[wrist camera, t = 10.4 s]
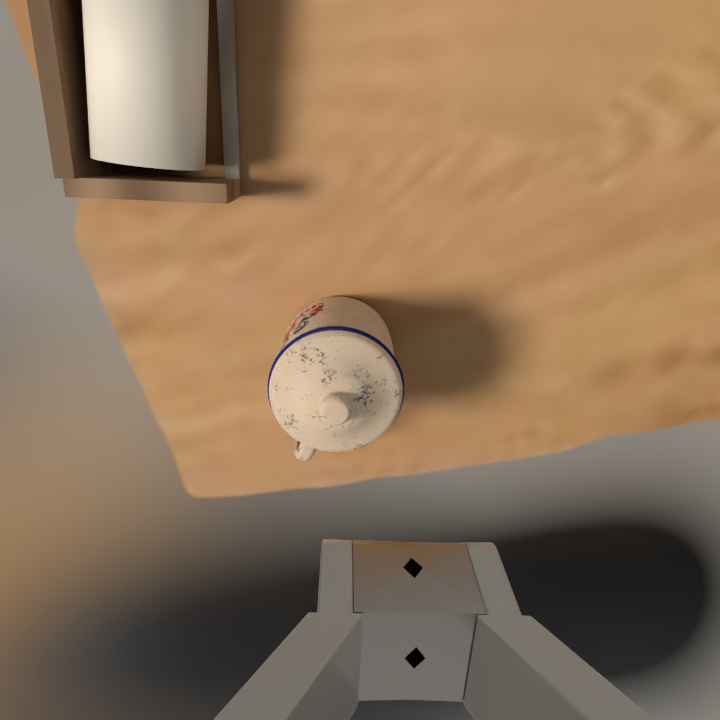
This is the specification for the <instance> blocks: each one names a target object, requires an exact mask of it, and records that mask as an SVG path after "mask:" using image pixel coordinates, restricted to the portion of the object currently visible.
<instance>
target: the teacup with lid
mask: <svg viewBox="0 0 720 720" xmlns="http://www.w3.org/2000/svg"><path fill="white" fill-rule="evenodd" d="M268 398H269V402H270V406H271V408H272V411H273V413H274V415H275V417H276V419H277V420H278V422H279V423H280V425H281V426H282V427H283V429H284V430H285V431H286V432H287V433H288V434H289V435H291V436H292V437H293V438H294V439H296V440H297V443H296V447H295V456H296V458H298V459H300V460H303V461H308V460H310V459H311V458H312V456H313V455H314V453H315V451H316V449H318V450H322V451H329V452H344V451H350V450H355V449H358V448H361V447H364V446H366V445H368V444H370V443H372V442H373V441H375V440H377V439H378V438H379V437H381V436H382V435H383V434H384V433H385V432H386V431H387V430H388V429H389V428H390V427H391V425H392V424H393V422H394V421H395V419H396V417H397V416H398V414H399V411H400V409H401V406H402V403H403V398H404V380H403V375H402V371H401V368H400V366H399V364H398V362H397V360H396V358H395V355H394V350H393V345H392V340H391V336H390V333H389V330H388V328H387V325H386V324H385V322H384V320H383V319H382V318H381V316H380V315H379V314H378V313H377V312H376V311H375V310H374V309H373V308H371V307H370V306H368V305H367V304H365V303H363V302H361V301H359V300H356V299H353V298H349V297H339V296H337V297H327V298H323V299H320V300H317V301H314V302H312V303H310V304H309V305H307V306H306V307H304V308H303V309H302V310H301V311H300V312H299V313H298V314H297V315H296V316H295V317H294V319H293V320H292V322H291V323H290V325H289V327H288V329H287V332H286V336H285V339H284V342H283V345H282V348H281V351H280V353H279V354H278V356H277V357H276V359H275V361H274V363H273V365H272V367H271V371H270V374H269V379H268Z"/></svg>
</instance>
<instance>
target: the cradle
mask: <svg viewBox="0 0 720 720" xmlns="http://www.w3.org/2000/svg"><path fill="white" fill-rule="evenodd" d="M216 1H217V22H218V44H219V66H220V88H221V110H222V132H223V153H224V175H225V178H213V177H190V176H167V175H145V174H122V173H113V166H112V163H110V162H104V161H99V160H95V159H92V158H90V148H89V129H88V110H87V91H86V72H85V53H84V34H83V15H82V0H27V4H28V10H29V17H30V23H31V29H32V36H33V42H34V49H35V55H36V62H37V68H38V74H39V81H40V87H41V94H42V100H43V107H44V113H45V120H46V125H47V132H48V139H49V145H50V152H51V158H52V165H53V171H54V177H55V178H63V183H64V190H65V196H66V197H82V198H106V199H129V200H153V201H176V202H200V203H223V204H227V203H229V202H231V201H233V200H235V199H237V198H238V197H240V196H241V181H240V153H239V125H238V97H237V69H236V41H235V13H234V0H216Z"/></svg>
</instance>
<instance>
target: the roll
mask: <svg viewBox="0 0 720 720" xmlns="http://www.w3.org/2000/svg"><path fill="white" fill-rule="evenodd" d="M82 15H83V34H84V53H85V72H86V91H87V110H88V129H89V148H90V158H92V159H95V160H99V161H104V162H110V163H116V164H123V165H130V166H138V167H147V168H157V169H169V170H187V171H200V170H205V164H206V115H207V67H208V19H209V0H82Z"/></svg>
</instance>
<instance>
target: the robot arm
mask: <svg viewBox="0 0 720 720" xmlns="http://www.w3.org/2000/svg"><path fill="white" fill-rule="evenodd" d="M410 699H412V700H436V701H462V702H464V703H463V705H464V706H465V707H466V709H467V710H468V711H469V713H470V714H471V715H472V717H473V718H474V719H475V720H654V719H653V718H651V717H650V716H649V715H648V714H647V713H646V712H644V711H643V710H642V709H641V708H640V707H638V706H637V705H636V704H635V703H634V702H632V701H631V700H630V699H629V698H628V697H626V696H625V695H624V694H623V693H621V692H620V691H619V690H618V689H617V688H616V687H614V686H613V685H612V684H611V683H609V682H608V681H607V680H606V679H605V678H604V677H603V676H601V675H600V674H599V673H598V672H597V671H595V670H594V669H593V668H592V667H591V666H589V665H588V664H587V663H586V662H585V661H584V660H582V659H581V658H580V657H579V656H578V655H576V654H575V653H574V652H573V651H572V650H570V649H569V648H568V647H567V646H566V645H564V644H563V643H562V642H561V641H560V640H559V639H557V638H556V637H555V636H554V635H553V634H551V633H550V632H549V631H548V630H547V629H545V628H544V627H543V626H542V625H541V624H539V623H538V622H537V621H536V620H535V619H533V618H532V617H531V616H522V615H521V613H520V610H519V608H518V605H517V602H516V599H515V597H514V594H513V591H512V588H511V586H510V583H509V580H508V578H507V575H506V572H505V570H504V567H503V564H502V562H501V559H500V557H499V554H498V551H497V548H496V546H495V545H494V544H493V543H491V542H487V543H483V542H481V543H409V542H387V541H363V540H352V542H351V541H350V540H328V539H323V542H322V547H321V563H320V580H319V595H318V610H317V613H308V614H307V615H306V616H305V617H304V618H303V620H302V621H301V622H300V623H299V624H298V625H297V626H296V627H295V628H294V630H293V631H292V632H291V633H290V634H289V635H288V636H287V638H286V639H285V640H284V641H283V642H282V643H281V644H280V645H279V647H278V648H277V649H276V650H275V651H274V652H273V653H272V654H271V656H270V657H269V658H268V659H267V660H266V661H265V662H264V663H263V665H262V666H261V667H260V668H259V669H258V670H257V672H256V673H255V674H254V675H253V676H252V677H251V678H250V679H249V680H248V682H247V683H246V684H245V685H244V686H243V687H242V688H241V690H240V691H239V692H238V693H237V694H236V695H235V696H234V697H233V698H232V700H231V701H230V702H229V703H228V704H227V705H226V706H225V707H224V709H223V710H222V711H221V712H220V713H219V714H218V715H217V716H216V718H215V719H214V720H349V719H350V718H351V716H352V714H353V712H354V710H355V709H356V707H357V705H358V701H361V700H410Z"/></svg>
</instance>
